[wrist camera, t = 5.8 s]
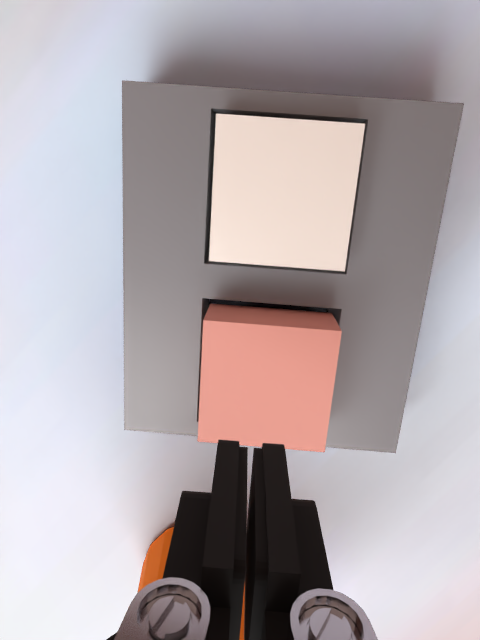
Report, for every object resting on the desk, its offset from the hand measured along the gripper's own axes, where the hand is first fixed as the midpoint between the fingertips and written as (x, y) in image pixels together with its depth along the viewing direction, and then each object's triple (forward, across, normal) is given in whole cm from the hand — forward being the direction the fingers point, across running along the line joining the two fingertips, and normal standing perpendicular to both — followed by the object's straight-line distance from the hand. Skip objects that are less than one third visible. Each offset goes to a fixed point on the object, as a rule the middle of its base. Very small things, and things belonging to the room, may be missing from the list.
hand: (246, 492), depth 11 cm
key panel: (+11, -1, -4) cm, 12 cm away
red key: (+8, -1, 0) cm, 8 cm away
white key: (+9, -1, -7) cm, 12 cm away
